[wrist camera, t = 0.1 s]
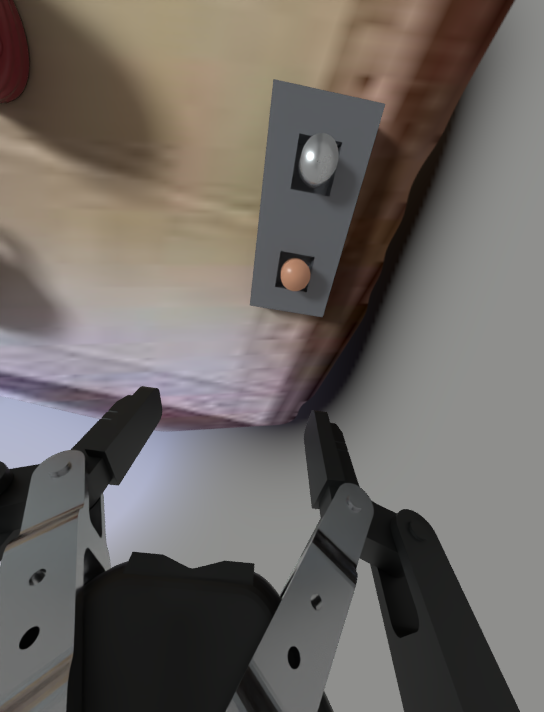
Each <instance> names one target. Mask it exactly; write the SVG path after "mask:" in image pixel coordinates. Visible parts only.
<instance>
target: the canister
mask: <svg viewBox="0 0 544 712" xmlns="http://www.w3.org/2000/svg"><path fill="white" fill-rule="evenodd" d="M28 74H29V52H28V45H27V40H26V36H25V32H24V28H23V25H22V22H21V19H20V16H19V13H18V11H17V8H16V6H15V4H14V1H13V0H0V103H7V102H10V101H13V100H15V99H16V98H17V97H18V96H19V95H20V94H21V93H22V92H23V90H24V88H25V86H26V83H27V80H28Z"/></svg>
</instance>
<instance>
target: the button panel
mask: <svg viewBox="0 0 544 712" xmlns="http://www.w3.org/2000/svg"><path fill="white" fill-rule="evenodd" d="M384 107H385V104H383V103H379V102H374V101H370V100H365V99H361V98H356V97H352V96H347V95H343V94H338V93H334V92H329V91H325V90H320V89H316V88H311V87H307V86H302V85H298V84H293V83H289V82H284V81H279V80H275V79H274V80H273V89H272V99H271V109H270V118H269V128H268V137H267V147H266V156H265V166H264V175H263V185H262V194H261V204H260V213H259V223H258V233H257V242H256V252H255V261H254V271H253V280H252V290H251V299H250V305H251V306H257V307H263V308H269V309H275V310H281V311H287V312H294V313H300V314H306V315H312V316H318V317H323V314H324V311H325V307H326V304H327V301H328V297H329V294H330V290H331V287H332V284H333V280H334V277H335V273H336V270H337V267H338V263H339V260H340V256H341V253H342V250H343V246H344V243H345V239H346V236H347V233H348V229H349V226H350V222H351V219H352V215H353V212H354V209H355V205H356V202H357V198H358V195H359V192H360V188H361V185H362V181H363V178H364V175H365V171H366V168H367V164H368V161H369V158H370V154H371V151H372V147H373V144H374V141H375V137H376V134H377V130H378V127H379V124H380V120H381V117H382V113H383V110H384ZM318 133H326V134H328V135H330V136H331V137H332V138H333V139H334V140H335V142H336V144H337V147H338V152H339V157H338V163H337V167H336V169H335V171H334V173H333V174H332V175H331V177H330V178H329V179H328V180H327V181H326V182H325V183H324V184H323V185H322V186H320V187H317V188H310V187H308V186H306V185H305V184H304V183H303V182H302V180H301V178H300V176H299V170H298V167H299V160H300V157H301V153H302V150H303V147H304V145H305V144H306V142H307V141H308V140H309V138H311V137H312V136H313V135H315V134H318ZM291 258H299V259H301V260H303V261H304V262H305V263H306V264H307V266H308V267H309V269H310V281H309V283H308V284H307V286H306V287H305V288H303V289H302V290H299V291H290V290H288V289H287V288H286V287H285V286H284V285H283V283H282V281H281V268H282V266H283V264H284V263H285V262H286V261H287V260H288V259H291Z"/></svg>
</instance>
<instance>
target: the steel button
mask: <svg viewBox="0 0 544 712" xmlns="http://www.w3.org/2000/svg"><path fill="white" fill-rule="evenodd" d="M338 157H339V152H338V147H337V144H336V142H335V140H334V139H333V138H332V137H331V136H330V135H328V134H326V133H318V134H315V135H313V136H312V137H311V138H309V140H308V141H307V142H306V144H305V145H304V147H303V150H302V153H301V157H300V160H299V167H298V170H299V176H300V178H301V180H302V182H303V183H304V184H305V185H306V186H308V187H310V188H317V187H320V186H322V185H323V184H324V183H325V182H326V181H327V180H328V179H329V178H330V177H331V175H332V174H333V173H334V171H335V169H336V167H337V163H338Z"/></svg>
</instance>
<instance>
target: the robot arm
mask: <svg viewBox="0 0 544 712" xmlns="http://www.w3.org/2000/svg"><path fill="white" fill-rule="evenodd" d="M161 416H162V404H161V398H160V392H159V389H158V388H151V387H144V386H142V387H140V388H139V389H138V390H137V391H136V392H135V393H134V394H133V395H127V396H126V397H124V398H122V399H120V400H119V401H117V402H116V403H115V404H114V405H113V406H112V407H111V408H110V409H109V411H108V412H106V413H105V415H104V416H103V417H102V419H100V420H99V421H98V422H97V423H96V424H95V425H94V426H93V427H92V428H91V429H90V431H88V432H87V434H85V435H84V436H83V438H82V439H81V440H80V441H79V442H78V443H77V444H76V445H75V446H74V447H73V448H72V449H71V450H68V451H63V452H60V453H57V454H55V455H53V456H51V457H49V458H48V459H46V460H45V461H43V462H42V463H41V464H38V465H32V466H26V467H19V468H13V469H8V467H7V466H6V465H5V464H4V463H3V462H0V561H1V560H2V561H1V566H0V712H333V709H332V707H331V705H330V703H329V701H328V698H327V696H326V694H325V692H324V688H325V685H326V682H327V679H328V675H329V672H330V669H331V665H332V662H333V659H334V656H335V652H336V649H337V646H338V643H339V639H340V636H341V632H342V629H343V626H344V623H345V620H346V616H347V613H348V610H349V606H350V603H351V600H352V597H353V594H354V590H355V587H356V583H357V577H358V576H357V572H356V568H357V564H358V560H359V558H360V559H362V560H364V561H366V562H368V563H370V565H371V569H372V573H373V578H374V582H375V587H376V591H377V596H378V600H379V604H380V609H381V613H382V617H383V622H384V626H385V630H386V634H387V639H388V643H389V648H390V652H391V656H392V661H393V665H394V669H395V673H396V678H397V682H398V687H399V691H400V695H401V699H402V704H403V708H404V712H520V711H519V709H518V706H517V704H516V702H515V700H514V698H513V696H512V694H511V692H510V690H509V687H508V685H507V683H506V681H505V679H504V677H503V675H502V673H501V671H500V669H499V666H498V664H497V662H496V660H495V658H494V656H493V654H492V652H491V649H490V647H489V645H488V643H487V641H486V639H485V637H484V635H483V633H482V630H481V628H480V626H479V624H478V622H477V620H476V618H475V616H474V614H473V611H472V609H471V607H470V605H469V603H468V601H467V599H466V597H465V594H464V592H463V591H462V588H461V586H460V584H459V582H458V580H457V577H456V575H455V574H454V571H453V569H452V567H451V565H450V563H449V561H448V559H447V556H446V554H445V552H444V550H443V548H442V546H441V544H440V541H439V540H438V537H437V535H436V534H435V531H434V530H433V528H432V527H431V525H430V524H429V523H428V522H427V521H426V520H425V519H424V518H423V517H422V516H421V515H419V514H418V513H416V512H414V511H412V510H408V509H403V510H401V511H399V513H395V512H393V511H390V510H388V509H386V508H384V507H382V506H380V505H378V504H376V503H374V502H373V501H371V499H370V498H369V496H368V495H367V493H365V491H364V490H363V489H362V488H360V486H359V484H358V481H357V478H356V475H355V472H354V469H353V465H352V462H351V459H350V456H349V453H348V451H347V450H348V449H347V446H346V444H345V440H344V436H343V433H342V431H341V430H340V429H339V427H338V426H337V425H336V424H335V423H330V421H329V417H328V414H327V412H321V411H315V410H312V411H311V414H310V417H309V420H308V423H307V425H306V429H305V433H304V444H305V452H306V461H307V470H308V478H309V486H310V495H311V504H312V508H315V509H320V515H321V519H320V520H319V522H318V524H317V526H316V528H315V530H314V532H313V534H312V536H311V538H310V539H309V541H308V543H307V545H306V547H305V549H304V551H303V553H302V555H301V557H300V558H299V560H298V562H297V564H296V566H295V568H294V570H293V571H292V573H291V575H290V577H289V579H288V580H287V582H286V584H285V586H284V588H283V590H282V592H281V594H280V596H279V594H278V593H277V592H276V590H275V589H274V588H273V587H272V585H271V584H270V583H269V582H268V581H267V580H266V579H264V578H263V577H262V576H260V575H259V574H257V573H255V572H254V564H252V563H243V562H232V561H222V562H218V563H214V564H210V565H206V566H202V567H198V568H193V569H192V568H188V567H186V566H184V565H182V564H180V563H178V562H176V561H174V560H173V559H171V558H169V557H167V556H165V555H160V554H150V553H139V552H132V555H131V557H130V559H129V561H127V562H124V563H122V564H119V565H116V566H114V567H112V568H111V565H110V557H109V552H108V548H107V544H106V534H105V514H104V496H103V492H104V490H105V489H106V487H107V485H108V484H110V485H119V484H120V483H121V481H122V480H123V478H124V476H125V475H126V473H127V471H128V470H129V468H130V467H131V465H132V464H133V462H134V461H135V459H136V457H137V456H138V454H139V453H140V451H141V449H142V448H143V446H144V445H145V443H146V442H147V440H148V438H149V437H150V435H151V434H152V432H153V431H154V429H155V428H156V426H157V424H158V423H159V421H160V419H161Z"/></svg>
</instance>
